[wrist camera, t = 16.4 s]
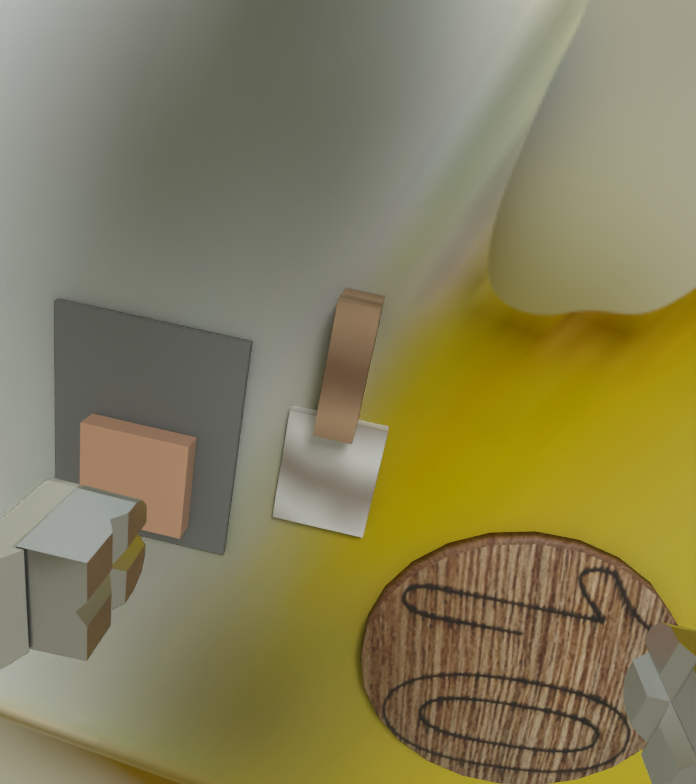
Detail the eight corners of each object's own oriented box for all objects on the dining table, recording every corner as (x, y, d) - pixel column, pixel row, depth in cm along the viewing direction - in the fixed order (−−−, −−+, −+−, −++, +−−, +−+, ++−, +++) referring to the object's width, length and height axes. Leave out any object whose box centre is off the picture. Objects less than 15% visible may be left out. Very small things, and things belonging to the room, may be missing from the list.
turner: (313, 281, 37) (301, 293, 33) (418, 303, 37) (417, 318, 33) (275, 509, 44) (262, 540, 40) (363, 530, 44) (358, 563, 40)
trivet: (366, 515, 43) (364, 529, 42) (712, 542, 41) (725, 559, 39) (359, 745, 52) (357, 765, 51) (641, 780, 50) (649, 802, 48)
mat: (58, 298, 40) (53, 300, 39) (252, 341, 39) (250, 343, 39) (59, 512, 46) (55, 515, 46) (224, 551, 46) (222, 555, 45)
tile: (80, 422, 40) (79, 515, 43) (188, 447, 40) (180, 539, 43) (93, 412, 42) (91, 502, 45) (197, 436, 42) (188, 525, 45)
